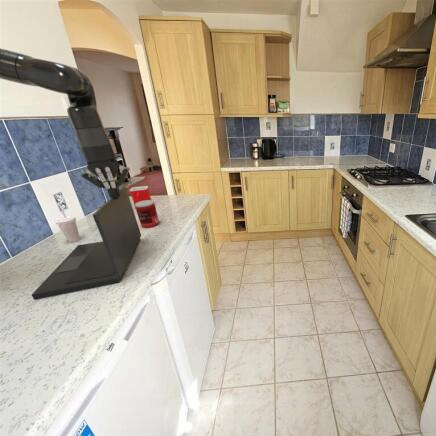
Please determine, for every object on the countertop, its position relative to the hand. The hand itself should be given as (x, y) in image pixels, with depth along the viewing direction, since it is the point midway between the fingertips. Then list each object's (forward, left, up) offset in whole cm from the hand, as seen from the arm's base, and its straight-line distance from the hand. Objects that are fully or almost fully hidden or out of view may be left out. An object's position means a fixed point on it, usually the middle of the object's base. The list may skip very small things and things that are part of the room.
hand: (116, 198), depth 79 cm
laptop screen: (-2, 0, -10) cm, 10 cm away
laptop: (-12, 0, -23) cm, 26 cm away
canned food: (0, +30, -23) cm, 38 cm away
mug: (-8, +58, -23) cm, 63 cm away
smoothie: (-28, +25, -23) cm, 44 cm away
